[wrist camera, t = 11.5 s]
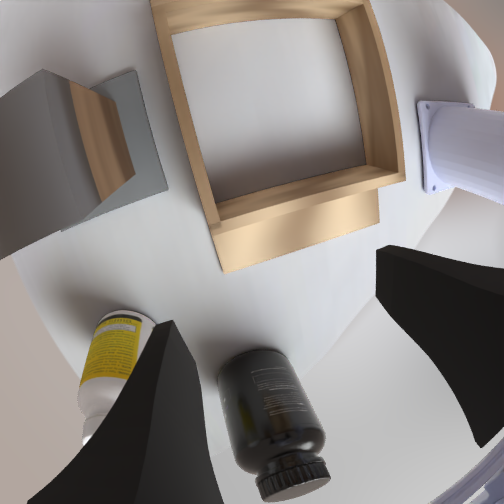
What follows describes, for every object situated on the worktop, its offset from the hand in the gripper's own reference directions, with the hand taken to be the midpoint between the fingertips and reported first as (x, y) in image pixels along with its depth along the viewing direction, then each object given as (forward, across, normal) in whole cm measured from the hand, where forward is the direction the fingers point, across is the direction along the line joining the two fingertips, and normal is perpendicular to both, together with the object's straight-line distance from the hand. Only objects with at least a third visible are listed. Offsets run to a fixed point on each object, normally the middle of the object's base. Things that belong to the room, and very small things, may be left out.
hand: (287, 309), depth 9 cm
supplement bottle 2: (+10, +2, +14) cm, 17 cm away
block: (+9, +7, -7) cm, 13 cm away
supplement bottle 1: (+10, +10, +6) cm, 15 cm away
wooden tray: (+9, -4, -7) cm, 13 cm away
